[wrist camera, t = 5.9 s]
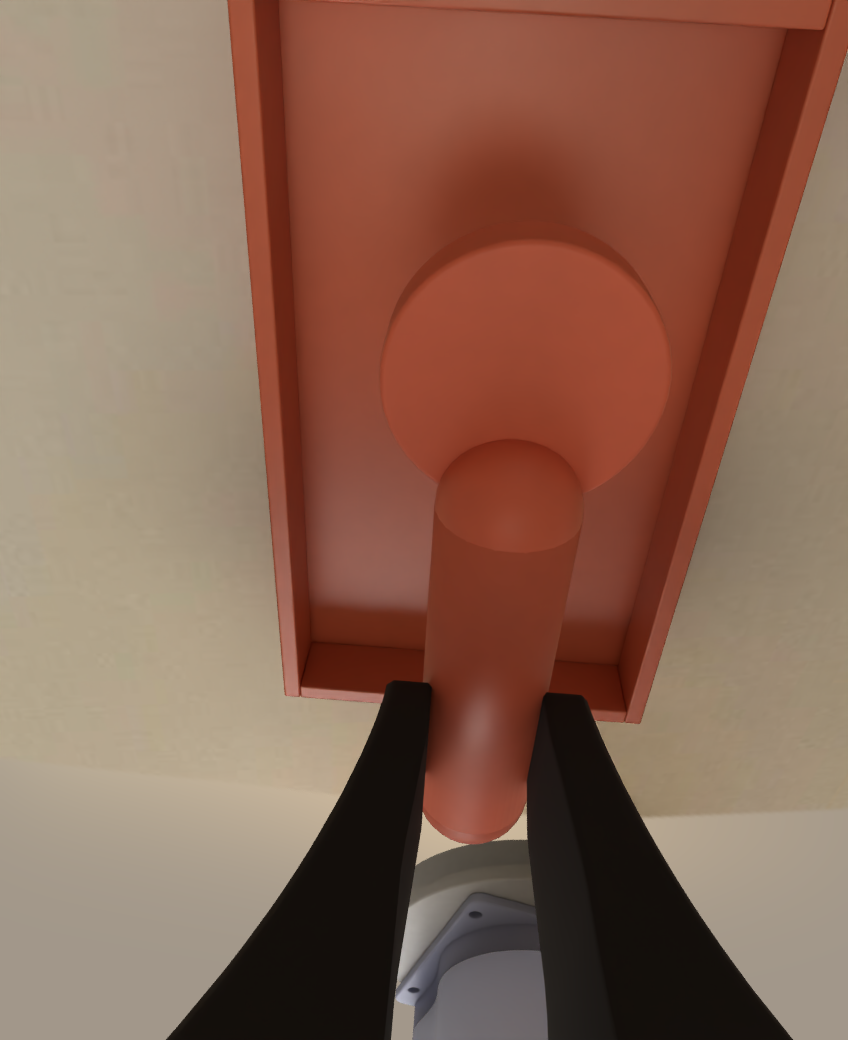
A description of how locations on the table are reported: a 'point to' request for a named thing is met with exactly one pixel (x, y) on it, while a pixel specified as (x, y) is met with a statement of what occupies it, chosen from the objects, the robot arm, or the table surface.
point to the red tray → (489, 201)
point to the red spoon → (511, 477)
